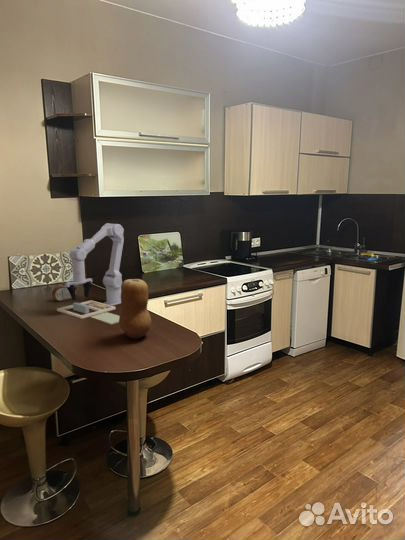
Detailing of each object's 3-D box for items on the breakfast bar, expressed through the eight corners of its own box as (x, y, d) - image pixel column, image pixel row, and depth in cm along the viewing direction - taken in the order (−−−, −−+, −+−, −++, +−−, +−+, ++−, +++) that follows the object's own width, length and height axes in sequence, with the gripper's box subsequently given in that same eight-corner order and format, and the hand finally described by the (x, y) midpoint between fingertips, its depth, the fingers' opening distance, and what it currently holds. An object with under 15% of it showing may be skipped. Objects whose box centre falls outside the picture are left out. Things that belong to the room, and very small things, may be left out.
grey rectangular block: (76, 310, 209) (76, 302, 208) (89, 314, 203) (88, 305, 202) (73, 310, 208) (72, 302, 207) (85, 314, 201) (85, 306, 200)
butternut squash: (158, 336, 170) (156, 279, 165) (133, 345, 160) (131, 285, 156) (137, 329, 179) (135, 275, 174) (112, 337, 169) (110, 280, 165)
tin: (75, 296, 236) (74, 282, 234) (78, 297, 234) (77, 283, 232) (52, 301, 224) (51, 287, 223) (55, 302, 222) (54, 288, 221)
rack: (91, 302, 222) (91, 300, 222) (115, 309, 209) (115, 306, 209) (57, 311, 206) (56, 308, 206) (81, 319, 193) (81, 316, 193)
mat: (106, 313, 203) (106, 312, 203) (127, 319, 193) (127, 318, 193) (90, 317, 195) (90, 316, 195) (111, 324, 186) (111, 323, 186)
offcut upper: (94, 305, 217) (93, 302, 216) (105, 308, 211) (105, 306, 210) (88, 306, 214) (88, 304, 214) (100, 309, 208) (100, 307, 208)
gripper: (86, 269, 209) (87, 294, 212) (61, 273, 198) (63, 299, 201) (94, 270, 205) (95, 296, 207) (69, 275, 194) (71, 302, 196)
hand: (80, 298), depth 204 cm, fingers open, 7 cm apart
